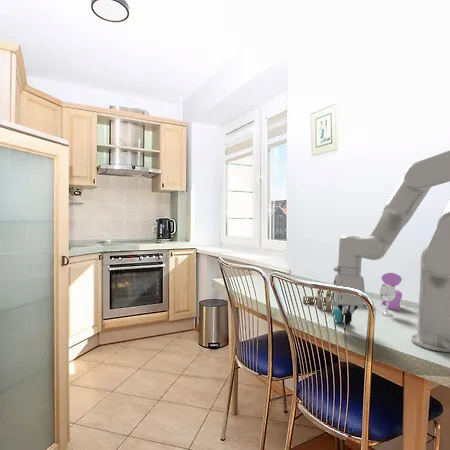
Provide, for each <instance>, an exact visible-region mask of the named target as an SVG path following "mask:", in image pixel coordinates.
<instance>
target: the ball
mask: <svg viewBox="0 0 450 450" xmlns="http://www.w3.org/2000/svg"><path fill="white" fill-rule="evenodd" d="M347 308H348V307H346V309H347ZM331 314H332V313H331ZM334 315H335V319H334V321H335V322H338V323H342V324H344V323H343V322H342V320H341V317H342V311H341V310H340V309H339V308H337V307H334ZM332 316H333V314H332Z"/></svg>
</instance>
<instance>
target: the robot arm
mask: <svg viewBox="0 0 450 450" xmlns="http://www.w3.org/2000/svg"><path fill="white" fill-rule="evenodd" d="M448 182H450V150H447V151H444V152H442V153H439V154H436V155H433V156H430V157H427V158H425V159H422V160H419V161H416V162H414V163H412V164H410V165H409V166H408V167H407V168H406V170H405V172H404V175H403V177H402V179H401V180H400V182H399V184H398V185H397V187H396V188H395V190H394V191H393V193H392V195H391V196H390V198H389V200H387V202H386V204H385V206H384V208H383V211H382V214H381V215H380V218H379V220H378V222H377V224H376V226H375V228H374V229H373V231H372V232H371V234H370V235H369V237H360V236H356V235H355V236H353V235H342V236H340V237H339V240H338V241H339V243H338V245H339V246H338V258H337V259H338V261H337V266H336V267H333V271H334V272H336V274H335V275H334V279H333V285H336V286H343V287H350V288H354V289H358V290H360V291H362V292H363V293H365V282H364V281H365V280H364V276H363V275H362V258H363V259H366V260H371V261H378V260H380V259H382V258H384V256H385V255H386V254H387V252H388V251H389V249H390V248H391V247H392V245H393V243H394V242H395V240H396V239H397V237H398V236H399V234H400V232H401V231H402V230H403V229H404V227H405V226H406V225H407V224H408V223H409V222H410V220H411V219H412V217H413V216H414V215H415V213H416V211H417V210H418V208H419V206H420V204H422V202H423V200H424V199H425V197H426V196H427V195H428V192H429V191H430V189H431V188H432V187H435V186H439V185H442V184H446V183H448ZM419 277H420V278H419V295H418V311H417V312H418V315H417V316H418V318H417V333H416V334H413V335H412V336H411V342H413V343H414V344H415V345H417V346H419V347H422V348H423V349H427V350H431V351H435V350H436V352H441V351H442V352H441V353H450V199H449V200H448V202H447V204H446V206H445V208H444V211H443V212H442V214H441V215H440V217H439V218H438V220H437V223H436V229H435V231H434V233H433V236H432V237H431V239H430V242H429V244H428V246H426V247H425V248H424V249H423V250H422V253H421V255H420V275H419ZM333 285H332V286H333ZM365 294H366V293H365ZM342 299H343V308H344V315H345V324H344V325H345V326H347V325H348V326H350V325H351V322H352V321H353V320H352V318H353V317H352V316H353V314H354V312H355V311H356V310H357V309H362V308H364V304H365V302H364V301H363V300H362V299H361V298H359V297H357V296H354V295H350V294H346V293H342ZM332 300H333V306H334V308H335V307H337V308H339V309H340V310H341V311H342V303H341V295H340V293H339V292H332ZM346 308H347V309H346ZM341 320H342V322H343V314H342V317H341Z"/></svg>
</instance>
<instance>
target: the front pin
mask: <svg viewBox="0 0 450 450" xmlns="http://www.w3.org/2000/svg"><path fill="white" fill-rule="evenodd" d="M325 297H326V305H325V312H330V313H332V312H333V309H331V300H330V293H329V291H325Z"/></svg>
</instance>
